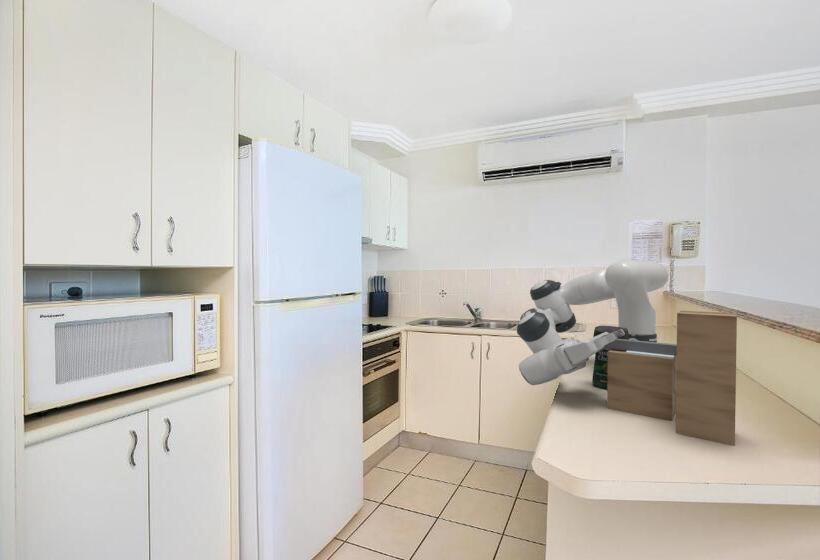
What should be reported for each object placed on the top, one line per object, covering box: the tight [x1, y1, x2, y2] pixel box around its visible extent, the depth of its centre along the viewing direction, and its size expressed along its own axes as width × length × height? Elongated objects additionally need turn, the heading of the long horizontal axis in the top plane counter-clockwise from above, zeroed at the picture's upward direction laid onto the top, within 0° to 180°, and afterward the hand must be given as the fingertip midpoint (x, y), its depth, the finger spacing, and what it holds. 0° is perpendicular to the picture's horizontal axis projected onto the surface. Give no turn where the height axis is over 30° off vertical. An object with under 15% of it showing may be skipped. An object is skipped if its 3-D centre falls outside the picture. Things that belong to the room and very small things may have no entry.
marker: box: [604, 339, 677, 356], centre depth 101 cm, size 3×24×3 cm, turn 51°
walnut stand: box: [606, 310, 738, 446], centre depth 95 cm, size 16×26×26 cm, turn 51°
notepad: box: [626, 350, 675, 359], centre depth 100 cm, size 7×10×1 cm
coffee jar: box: [591, 325, 629, 390], centre depth 122 cm, size 10×8×19 cm
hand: (619, 334), depth 105 cm, fingers open, 8 cm apart
